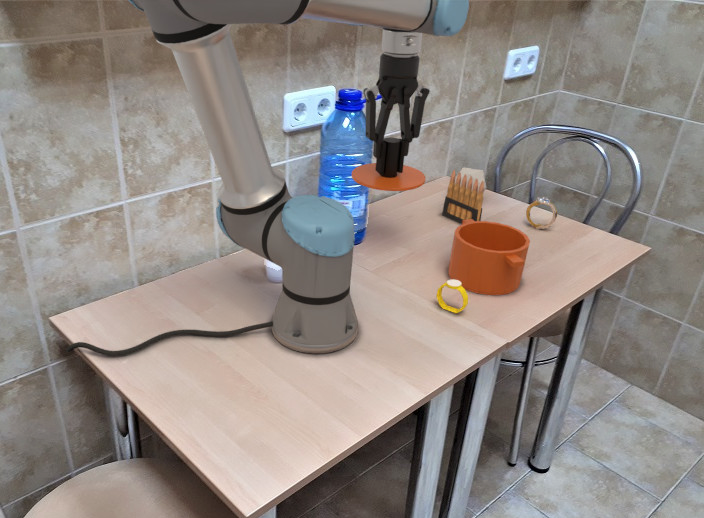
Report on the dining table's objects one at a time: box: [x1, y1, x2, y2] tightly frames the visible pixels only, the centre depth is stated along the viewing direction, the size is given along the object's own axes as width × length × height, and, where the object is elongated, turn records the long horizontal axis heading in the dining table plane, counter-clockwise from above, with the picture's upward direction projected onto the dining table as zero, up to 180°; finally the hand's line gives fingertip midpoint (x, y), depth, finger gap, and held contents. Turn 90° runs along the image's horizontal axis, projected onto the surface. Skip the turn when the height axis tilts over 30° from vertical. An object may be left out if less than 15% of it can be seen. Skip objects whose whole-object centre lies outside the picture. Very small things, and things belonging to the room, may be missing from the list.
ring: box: [525, 196, 558, 230], centre depth 148 cm, size 7×3×8 cm, turn 50°
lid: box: [351, 136, 427, 192], centre depth 128 cm, size 16×16×9 cm
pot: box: [447, 219, 531, 296], centre depth 126 cm, size 15×20×10 cm
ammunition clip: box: [441, 169, 485, 225], centre depth 149 cm, size 11×2×12 cm, turn 38°
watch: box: [436, 279, 469, 314], centre depth 115 cm, size 6×3×6 cm, turn 49°
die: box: [455, 166, 487, 194], centre depth 163 cm, size 8×9×10 cm
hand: (388, 171), depth 129 cm, fingers closed on lid, 4 cm apart
